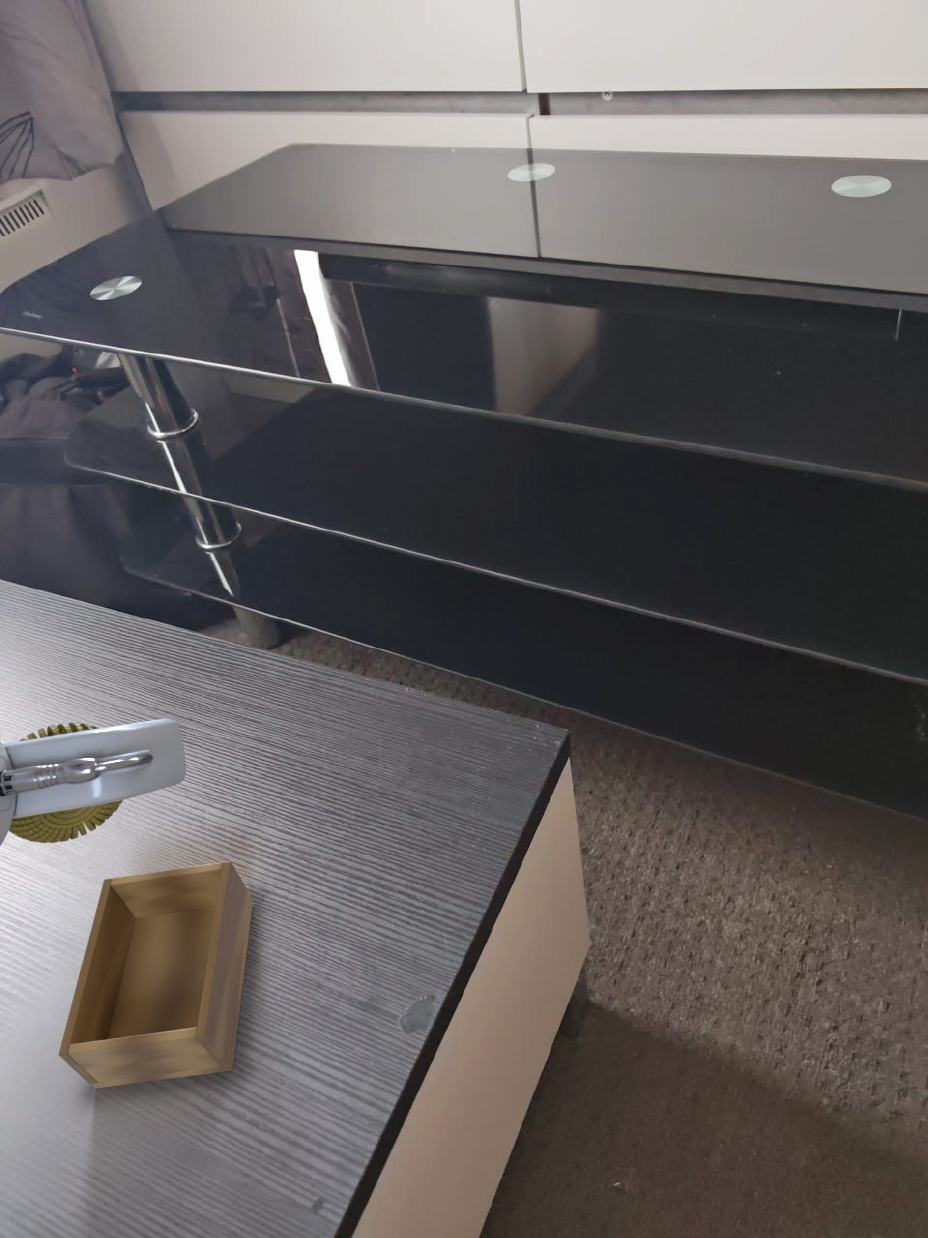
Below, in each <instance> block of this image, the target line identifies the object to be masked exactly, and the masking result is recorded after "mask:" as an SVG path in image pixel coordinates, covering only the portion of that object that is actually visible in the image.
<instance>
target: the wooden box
mask: <svg viewBox="0 0 928 1238" xmlns="http://www.w3.org/2000/svg"><path fill="white" fill-rule="evenodd" d="M253 905H254V899H253V898H252V896H251V894H250V892H249V891H248V888H247V887H246V885H245V884H244V881H243V880H242V878H241V876H240V875H239V873H238V871H237V870H236V868H235V866H234V864H233V863H232V861H231V860H227V861H223V862H216V863H215V862H214V863H207V864H200V865H193V866H187V867H181V868H173V869H167V870H160V871H153V872H146V873H139V874H131V875H125V876H119V877H113V878H105V879H103V882H102V886H101V891H100V894H99V898H98V902H97V906H96V910H95V913H94V917H93V922H92V925H91V929H90V932H89V936H88V940H87V944H86V948H85V951H84V956H83V959H82V963H81V967H80V971H79V975H78V978H77V981H76V986H75V990H74V994H73V998H72V1002H71V1005H70V1009H69V1012H68V1016H67V1020H66V1024H65V1028H64V1031H63V1034H62V1035H63V1036H62V1040H61V1043H60V1048H59V1050H58V1056H59V1058H60V1059H62V1060H63V1061H64V1062H65V1063H66V1064H67V1065H68V1066H69V1067H70V1068H71V1069H73V1070H74V1071H75V1072H76V1073H77V1074H78V1075H79V1076H80V1077H81V1078H82V1079H83V1080H85V1082H86V1083H88V1084H89V1086H91V1087H92V1088H93V1089H94V1090H96V1089H97V1090H98V1089H102V1088H110V1087H118V1086H119V1087H120V1086H125V1085H132V1084H133V1085H134V1084H141V1083H149V1082H157V1081H163V1080H172V1079H178V1078H187V1077H193V1076H194V1077H195V1076H199V1075H200V1076H203V1075H209V1074H216V1073H224V1072H231V1071H233V1070H234V1064H235V1056H236V1047H237V1046H236V1045H237V1039H238V1033H239V1032H238V1031H239V1023H240V1022H239V1021H240V1014H241V1006H242V997H243V990H244V981H245V974H246V973H245V972H246V965H247V964H246V963H247V957H248V956H247V955H248V947H249V940H250V931H251V923H252V916H253V915H252V914H253V913H252V912H253V908H254V906H253Z"/></svg>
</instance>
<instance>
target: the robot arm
mask: <svg viewBox="0 0 928 1238" xmlns="http://www.w3.org/2000/svg"><path fill="white" fill-rule="evenodd" d="M98 728H99V729H92V730H86V731H80V732H74V733H68V734H61V735H55V736H49V737H43V738H40V737H37V739H31V740H28V739H27V740H25V741H20V740H18V741H19V742H18V741H12V742H7V743H2V742H1V741H0V847H1V846H2V845H3V844H4V841H5V839H6V837H7V835H8V833H9V832H10V831H9V828H10V826H11V822H12V819H13V818H20V817H26V816H32V815H39V814H45V813H51V812H58V811H64V810H70V809H77V808H83V807H89V806H95V805H100V804H105V803H110V802H115V801H119V800H123V801H125V800H128V799H131V798H135V797H138V796H142V795H147V794H150V793H153V792H156V791H157V792H158V791H160V790H163V789H168V788H171V787H173V786H177V785H179V784H181V783H182V782H183V781H184V780H185V777H186V774H187V772H186V771H187V765H186V764H187V763H186V755H185V747H184V741H183V736H182V731H181V728H180V725H179V723H178V722H177V721H176V720H175V719H172V718H157V719H152V720H145V721H138V722H131V723H124V724H119V725H112V726H106V727H98Z"/></svg>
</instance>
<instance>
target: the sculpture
mask: <svg viewBox="0 0 928 1238" xmlns="http://www.w3.org/2000/svg"><path fill="white" fill-rule="evenodd" d="M99 728H100V727H98V726H95V725H91V724H88V723H78V722H69V723H67V722H62V723H59V724H57V725H56V724H52V725H49V726H47V728H46V731H45V728H39V729H37V733H38V736H39V738H43V737H49V736H55V735H61V734H68V733H74V732H80V731H86V730H92V729H99ZM38 736H37V735H36V733H34V732H31V733H29V734H27V736H26V737H27V738H21V739H20V740H18V741H17V742H19V741H25V740H31V739H37V738H38ZM123 801H124V800H119V801H115V802H110V803H105V804H100V805H95V806H89V807H83V808H77V809H70V810H64V811H58V812H51V813H45V814H39V815H32V816H26V817H20V818H13V819H12V822H11V826H10V828H9V831H8V832H9V833H11V834H12V835H15V836H16V837H18V838H20V839H22V840H27V841H28V842H32V843H39V844H48V843H49V844H56V843H59V842H61V843H64V842H68V841H69V840H75V839H78V838H79V833H80V835H81V837H83V836H85V835H88V832H87V829H88V830H89V831H90V832H93V831H95V830H96V829H97V826H98V827H100V826H102V825H103V824H105V822H106V821H108V820H109V819H111V817H112V816H113V814H114V813H116V812H117V811H118V809H119V807H120V806H121V805H122V803H123ZM86 828H87V829H86Z"/></svg>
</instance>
